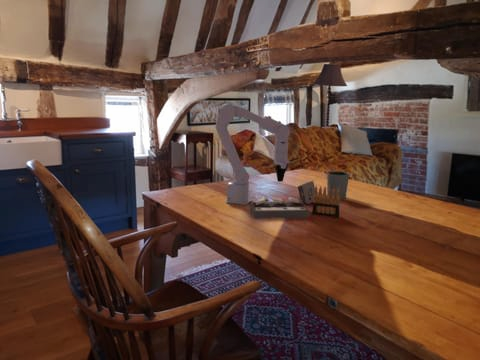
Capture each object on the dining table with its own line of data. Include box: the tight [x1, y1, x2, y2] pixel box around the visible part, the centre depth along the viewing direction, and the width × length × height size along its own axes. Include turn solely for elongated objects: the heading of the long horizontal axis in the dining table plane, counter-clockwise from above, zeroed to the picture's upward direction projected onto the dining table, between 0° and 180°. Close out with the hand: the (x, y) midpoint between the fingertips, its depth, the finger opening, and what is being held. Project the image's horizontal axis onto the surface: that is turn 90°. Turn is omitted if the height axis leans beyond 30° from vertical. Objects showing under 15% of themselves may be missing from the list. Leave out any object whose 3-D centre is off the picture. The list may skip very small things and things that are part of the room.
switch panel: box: [250, 201, 310, 219], centre depth 149 cm, size 22×12×4 cm, turn 94°
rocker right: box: [288, 196, 303, 204], centre depth 151 cm, size 5×3×2 cm, turn 95°
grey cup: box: [326, 170, 350, 201], centre depth 172 cm, size 10×10×12 cm
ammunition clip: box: [311, 185, 341, 219], centre depth 146 cm, size 11×2×12 cm, turn 70°
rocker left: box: [254, 196, 270, 205], centre depth 150 cm, size 5×3×2 cm, turn 93°
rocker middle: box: [271, 196, 287, 204], centre depth 150 cm, size 5×3×2 cm, turn 96°
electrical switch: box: [297, 180, 316, 205], centre depth 166 cm, size 9×5×9 cm, turn 141°
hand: (280, 181), depth 164 cm, fingers closed
